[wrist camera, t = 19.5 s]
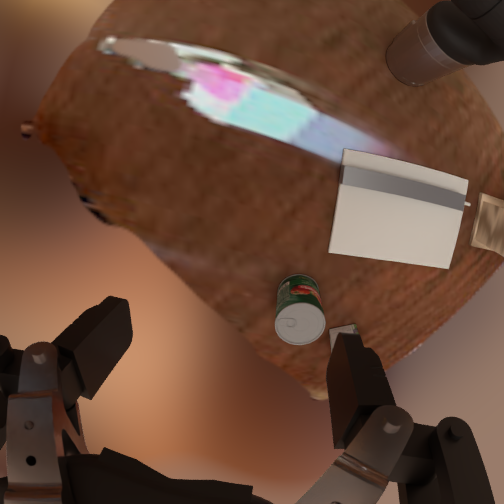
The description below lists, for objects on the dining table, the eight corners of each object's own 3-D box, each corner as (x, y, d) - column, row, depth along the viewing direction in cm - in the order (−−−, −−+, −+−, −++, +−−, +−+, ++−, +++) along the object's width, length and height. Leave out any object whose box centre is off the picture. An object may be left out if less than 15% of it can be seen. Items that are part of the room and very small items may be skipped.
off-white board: (343, 148, 44) (344, 148, 43) (465, 179, 42) (468, 180, 41) (328, 250, 50) (328, 252, 49) (446, 267, 48) (448, 268, 47)
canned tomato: (323, 277, 52) (331, 307, 42) (313, 313, 55) (318, 348, 44) (281, 270, 52) (279, 299, 42) (273, 307, 55) (270, 341, 45)
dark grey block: (338, 182, 45) (341, 164, 44) (461, 209, 43) (464, 194, 42) (342, 184, 42) (344, 165, 41) (469, 213, 40) (472, 197, 39)
